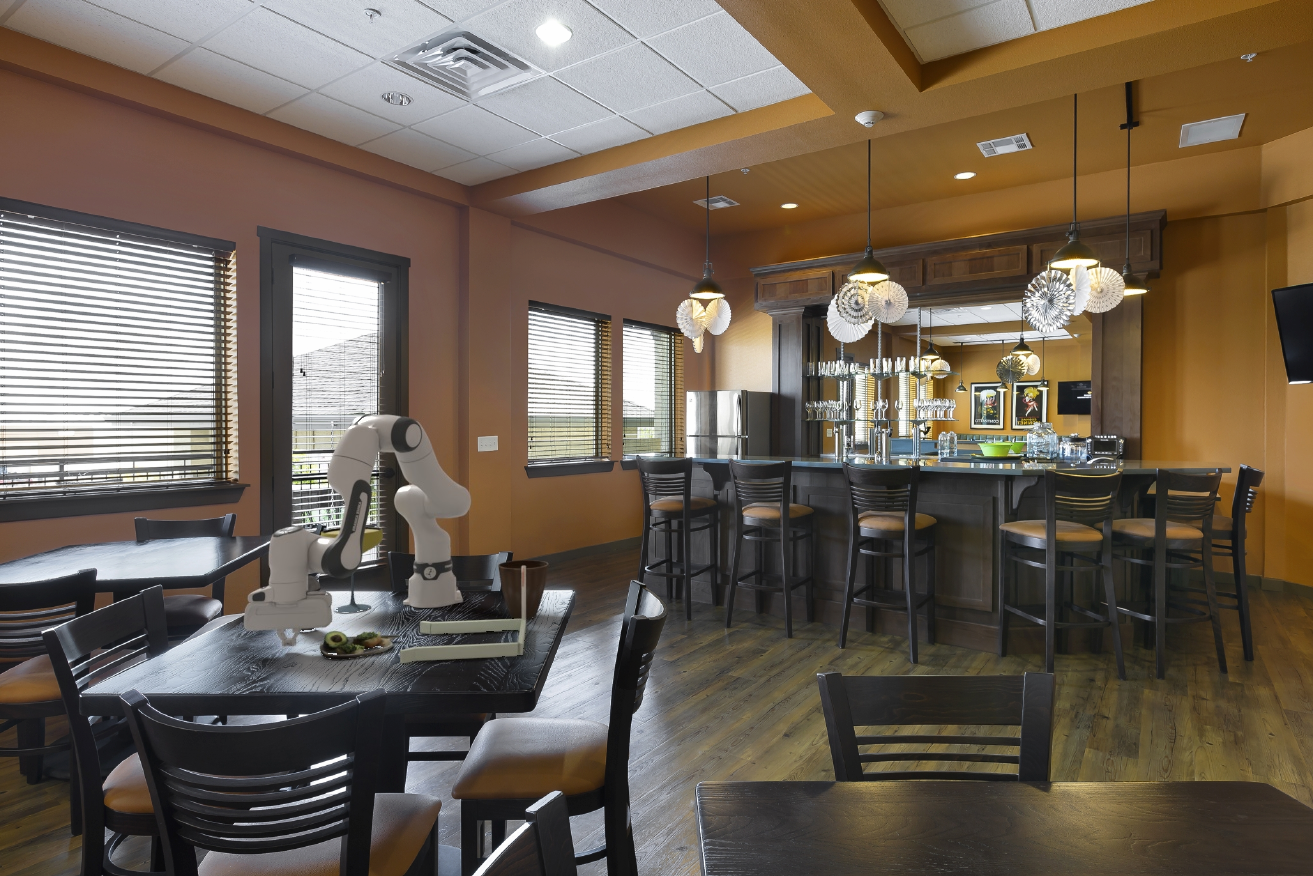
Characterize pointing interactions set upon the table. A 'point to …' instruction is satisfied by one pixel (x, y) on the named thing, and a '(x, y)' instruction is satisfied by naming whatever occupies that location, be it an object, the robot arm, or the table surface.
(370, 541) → the cocktail glass
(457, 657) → the corral
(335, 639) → the avocado toast plate
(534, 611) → the plant pot
